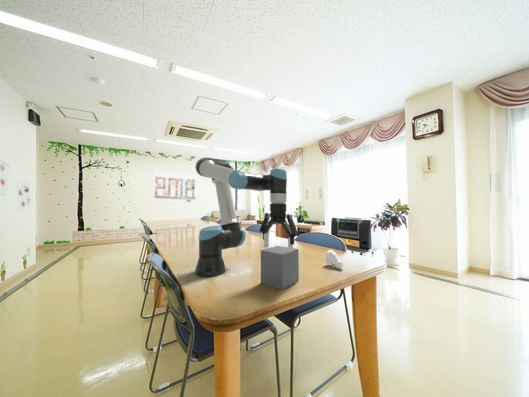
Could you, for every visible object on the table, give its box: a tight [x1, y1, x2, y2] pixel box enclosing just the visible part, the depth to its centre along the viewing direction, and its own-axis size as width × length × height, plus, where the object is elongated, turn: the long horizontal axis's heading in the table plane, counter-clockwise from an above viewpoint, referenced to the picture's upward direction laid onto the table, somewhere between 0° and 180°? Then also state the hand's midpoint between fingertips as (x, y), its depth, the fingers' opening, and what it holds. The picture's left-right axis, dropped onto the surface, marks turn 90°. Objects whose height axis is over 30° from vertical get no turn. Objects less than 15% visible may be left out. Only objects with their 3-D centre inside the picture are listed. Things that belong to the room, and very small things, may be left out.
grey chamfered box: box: [260, 245, 300, 291], centre depth 93 cm, size 12×13×15 cm
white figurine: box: [324, 249, 344, 270], centre depth 115 cm, size 6×8×12 cm
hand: (277, 249), depth 93 cm, fingers open, 13 cm apart
